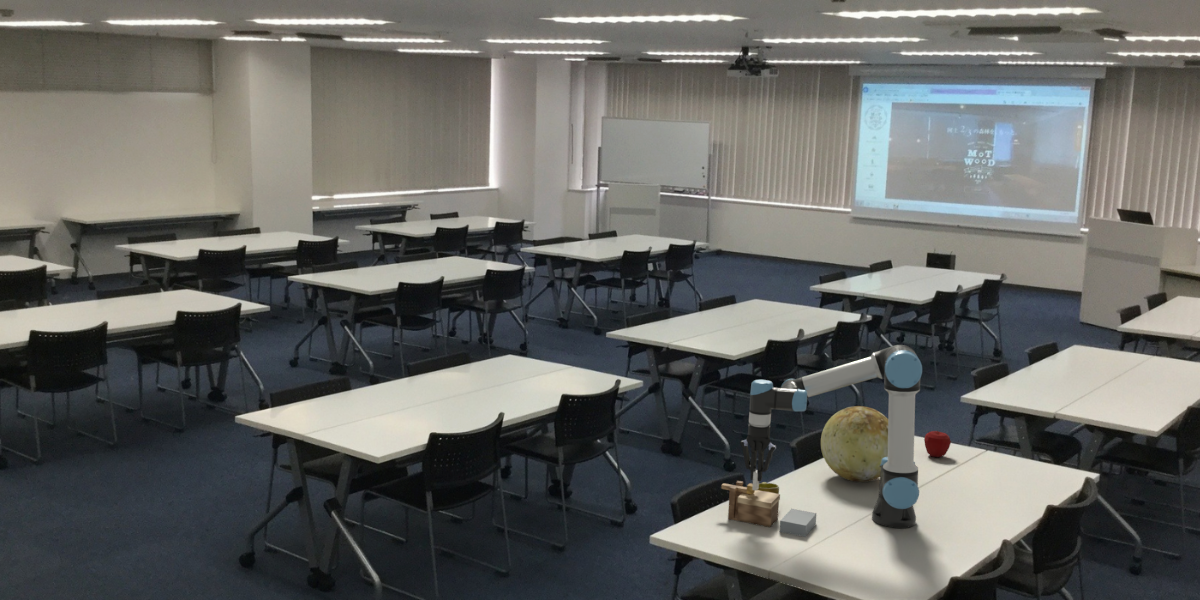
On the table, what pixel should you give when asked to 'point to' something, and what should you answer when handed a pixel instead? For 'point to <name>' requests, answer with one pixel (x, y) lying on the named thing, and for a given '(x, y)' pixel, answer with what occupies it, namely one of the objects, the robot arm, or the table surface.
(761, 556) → the table surface
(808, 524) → the block
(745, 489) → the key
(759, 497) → the lid
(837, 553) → the table surface
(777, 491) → the mug
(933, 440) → the apple
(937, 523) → the table surface
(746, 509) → the toolbox
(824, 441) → the speckled ball
